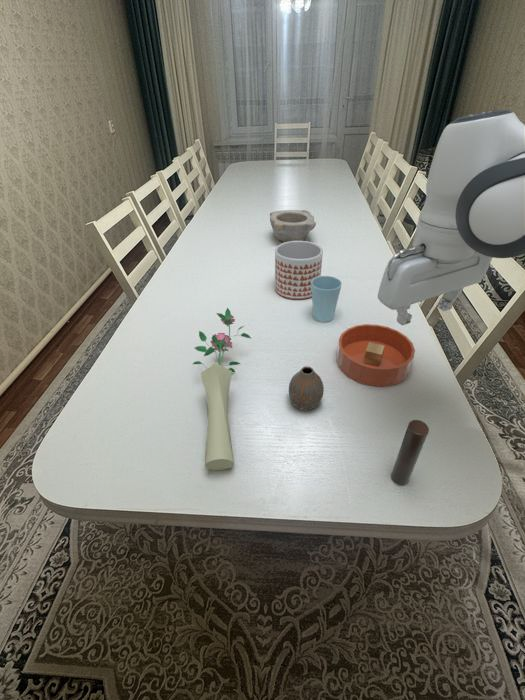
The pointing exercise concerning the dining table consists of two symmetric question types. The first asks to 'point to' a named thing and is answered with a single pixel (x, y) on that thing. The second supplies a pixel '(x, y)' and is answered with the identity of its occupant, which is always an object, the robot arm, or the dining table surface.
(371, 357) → the block
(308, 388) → the vase
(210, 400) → the flower vase
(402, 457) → the dark brown cylinder
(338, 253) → the dining table surface
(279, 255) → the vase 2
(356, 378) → the bowl
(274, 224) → the mortar
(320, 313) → the cup
